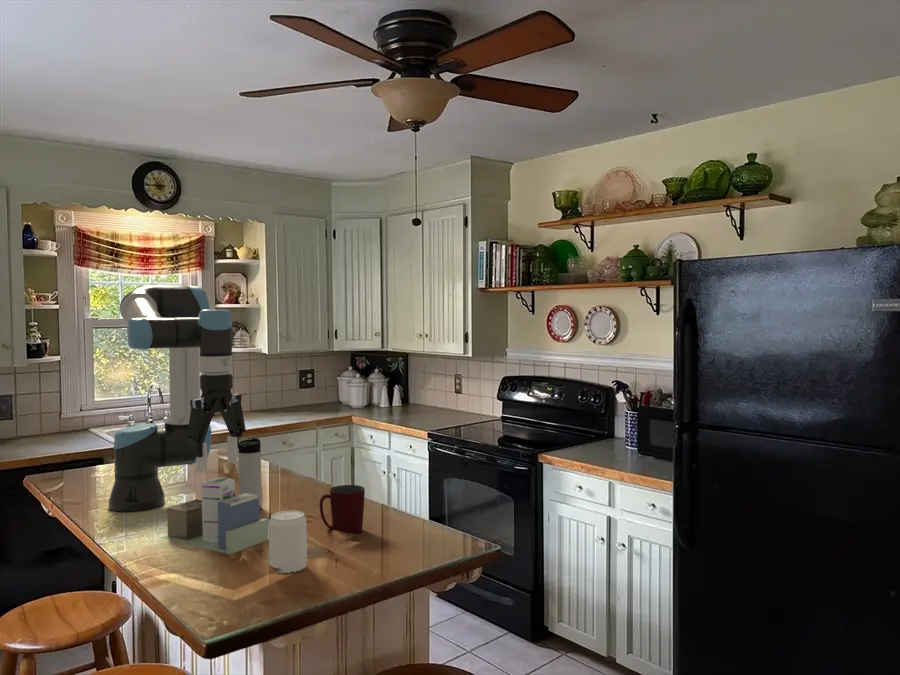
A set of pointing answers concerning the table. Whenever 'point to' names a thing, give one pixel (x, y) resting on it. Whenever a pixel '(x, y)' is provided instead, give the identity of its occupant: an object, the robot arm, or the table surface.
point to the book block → (236, 514)
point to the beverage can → (288, 541)
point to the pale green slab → (233, 538)
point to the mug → (345, 508)
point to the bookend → (185, 520)
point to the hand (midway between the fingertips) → (217, 466)
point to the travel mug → (250, 467)
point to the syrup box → (214, 504)
